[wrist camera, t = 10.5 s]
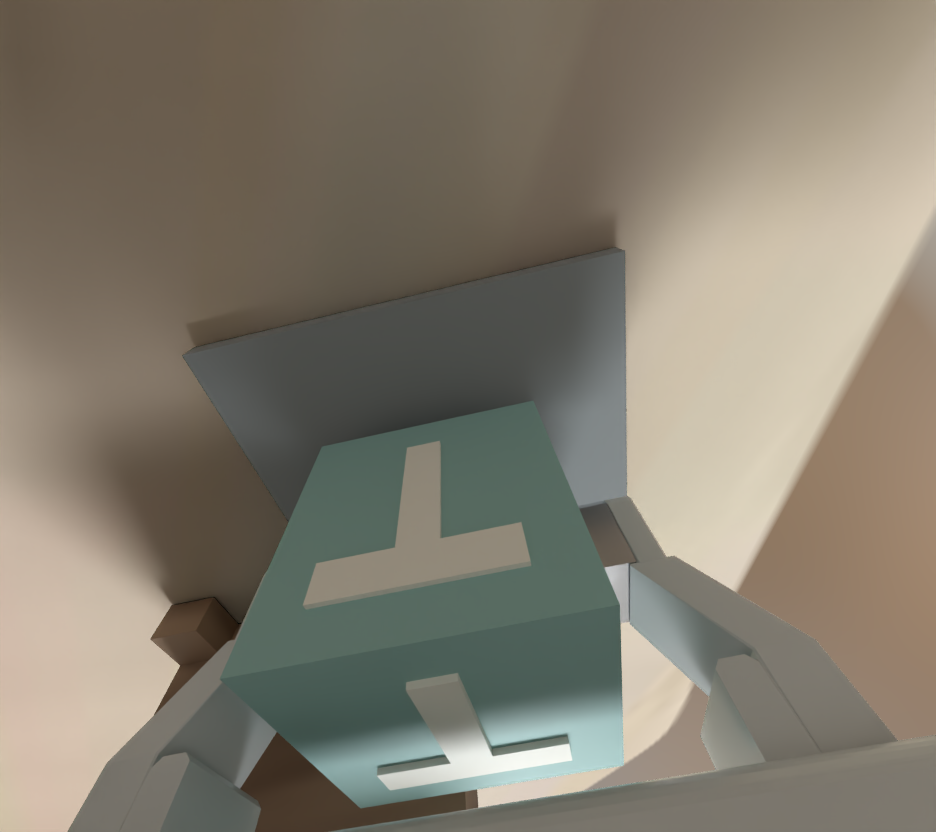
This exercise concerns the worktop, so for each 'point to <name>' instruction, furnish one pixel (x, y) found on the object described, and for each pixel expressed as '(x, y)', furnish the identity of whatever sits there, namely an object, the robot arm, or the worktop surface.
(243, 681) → the letter cube
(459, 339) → the grey mat
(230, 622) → the walnut screen
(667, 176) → the worktop surface
